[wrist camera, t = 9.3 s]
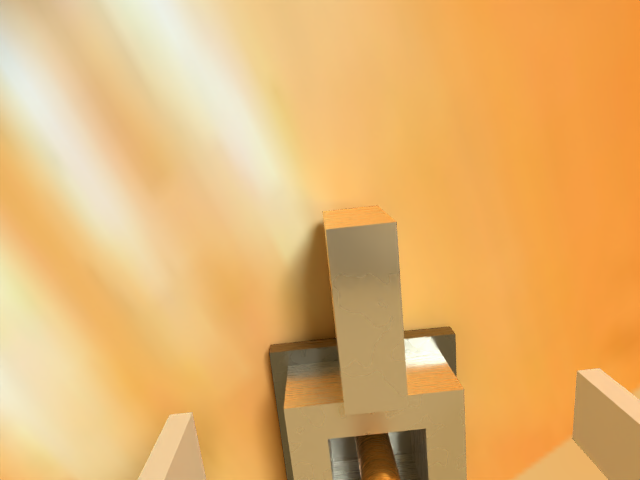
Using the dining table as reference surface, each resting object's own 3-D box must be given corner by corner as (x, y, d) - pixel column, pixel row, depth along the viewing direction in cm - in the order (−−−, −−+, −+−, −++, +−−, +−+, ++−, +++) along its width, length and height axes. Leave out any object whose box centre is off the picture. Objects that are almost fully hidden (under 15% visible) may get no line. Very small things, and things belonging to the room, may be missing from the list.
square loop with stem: (267, 217, 22) (255, 237, 17) (432, 199, 22) (467, 214, 17) (305, 491, 26) (304, 571, 21) (444, 476, 26) (475, 553, 21)
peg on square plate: (271, 344, 24) (246, 463, 15) (449, 326, 24) (533, 434, 15) (291, 493, 27) (281, 674, 18) (454, 476, 27) (529, 648, 18)
